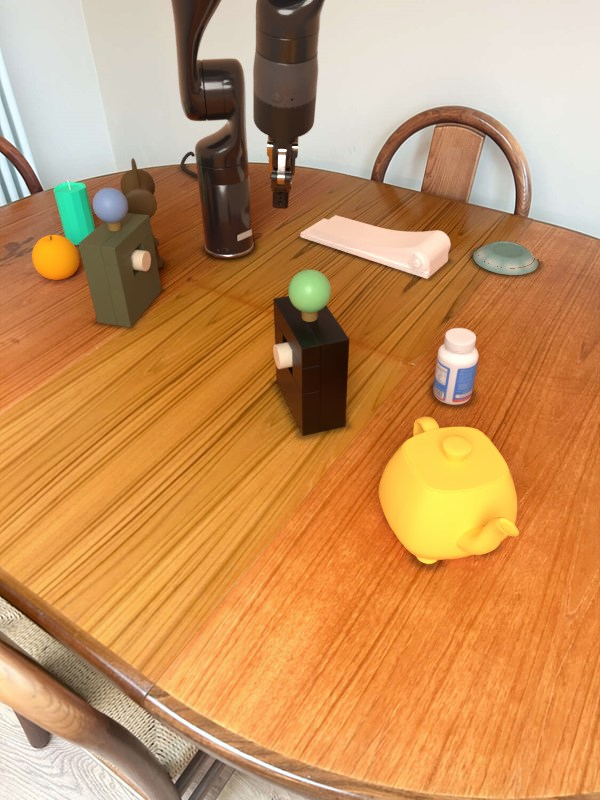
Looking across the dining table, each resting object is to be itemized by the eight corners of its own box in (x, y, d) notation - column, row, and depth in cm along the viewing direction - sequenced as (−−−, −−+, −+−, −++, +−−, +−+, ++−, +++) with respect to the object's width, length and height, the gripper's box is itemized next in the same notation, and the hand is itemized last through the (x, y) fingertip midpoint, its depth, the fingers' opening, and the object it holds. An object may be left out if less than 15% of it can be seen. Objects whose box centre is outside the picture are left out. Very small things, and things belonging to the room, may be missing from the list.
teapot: (461, 461, 82) (478, 381, 74) (551, 595, 67) (584, 513, 59) (357, 484, 79) (363, 403, 71) (427, 629, 64) (444, 547, 56)
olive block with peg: (161, 291, 115) (143, 175, 102) (130, 327, 106) (106, 206, 93) (130, 286, 116) (108, 172, 103) (97, 322, 107) (68, 202, 94)
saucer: (469, 234, 126) (468, 245, 127) (481, 264, 117) (479, 275, 118) (531, 234, 125) (529, 245, 127) (548, 264, 116) (545, 275, 118)
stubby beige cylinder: (280, 374, 84) (279, 353, 82) (273, 360, 86) (272, 340, 84) (298, 370, 84) (298, 350, 82) (290, 356, 87) (290, 336, 85)
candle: (89, 246, 128) (75, 186, 121) (60, 243, 129) (45, 184, 122) (102, 232, 133) (89, 174, 125) (74, 230, 134) (60, 172, 126)
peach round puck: (152, 265, 106) (149, 247, 104) (143, 274, 104) (140, 256, 102) (138, 263, 107) (135, 245, 105) (130, 273, 105) (126, 254, 102)
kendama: (165, 253, 126) (149, 147, 113) (169, 276, 119) (152, 166, 106) (133, 256, 125) (113, 150, 112) (135, 281, 118) (114, 170, 105)
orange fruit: (35, 288, 116) (23, 249, 111) (40, 267, 122) (29, 229, 117) (81, 283, 117) (72, 244, 112) (84, 262, 123) (75, 225, 118)
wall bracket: (324, 187, 130) (453, 223, 117) (328, 217, 136) (451, 255, 123) (295, 216, 125) (426, 257, 113) (300, 246, 131) (426, 288, 119)
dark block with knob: (302, 436, 86) (301, 301, 73) (276, 382, 94) (271, 253, 81) (345, 426, 87) (351, 292, 74) (315, 374, 96) (317, 246, 83)
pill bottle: (473, 386, 93) (485, 328, 87) (468, 409, 89) (480, 351, 83) (435, 378, 95) (444, 321, 89) (428, 401, 91) (437, 343, 85)
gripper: (316, 121, 74) (306, 239, 88) (317, 58, 81) (307, 176, 95) (249, 116, 73) (250, 235, 88) (256, 54, 81) (256, 173, 95)
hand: (280, 204), depth 92 cm, fingers closed
